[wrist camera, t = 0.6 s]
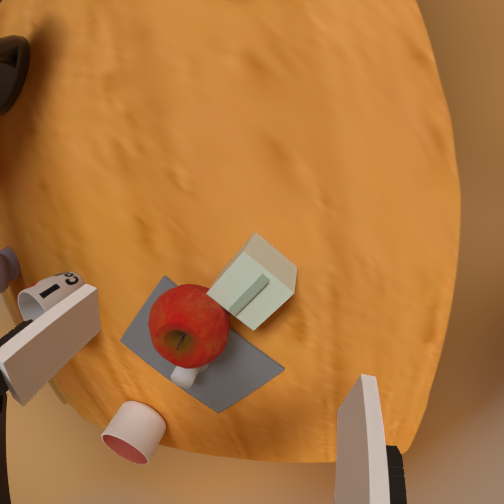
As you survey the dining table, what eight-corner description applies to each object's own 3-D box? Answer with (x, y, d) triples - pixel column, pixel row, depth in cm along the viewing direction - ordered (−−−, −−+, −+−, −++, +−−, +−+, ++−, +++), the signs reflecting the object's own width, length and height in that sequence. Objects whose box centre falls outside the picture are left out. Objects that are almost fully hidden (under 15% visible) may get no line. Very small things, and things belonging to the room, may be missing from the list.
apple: (160, 291, 36) (118, 332, 26) (208, 253, 34) (174, 287, 24) (203, 341, 37) (176, 393, 27) (254, 308, 35) (240, 361, 25)
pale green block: (222, 269, 34) (204, 296, 28) (255, 231, 32) (242, 253, 25) (262, 301, 34) (252, 334, 28) (297, 267, 32) (293, 296, 26)
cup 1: (89, 266, 38) (43, 297, 29) (99, 313, 41) (60, 349, 32) (55, 259, 39) (11, 285, 30) (65, 303, 42) (27, 333, 33)
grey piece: (121, 339, 42) (103, 359, 37) (164, 275, 36) (144, 295, 31) (219, 411, 44) (210, 435, 39) (284, 367, 38) (280, 396, 33)
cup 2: (115, 396, 49) (91, 430, 40) (150, 397, 46) (127, 437, 37) (141, 427, 52) (122, 460, 43) (177, 430, 49) (159, 468, 40)
